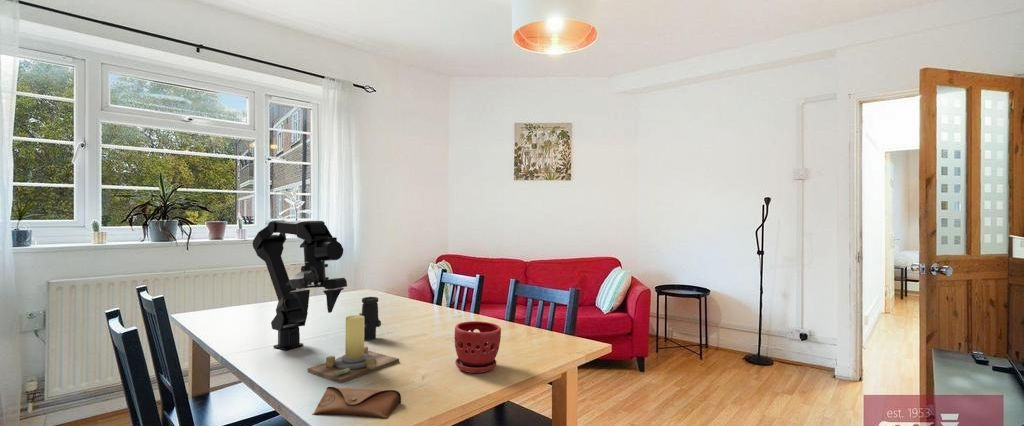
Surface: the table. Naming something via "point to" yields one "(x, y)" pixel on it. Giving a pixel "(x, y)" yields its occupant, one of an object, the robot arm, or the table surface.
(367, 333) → the scope
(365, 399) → the sunglasses case
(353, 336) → the yellow pillar candle
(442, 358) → the table surface
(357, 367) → the board
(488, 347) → the plant pot
